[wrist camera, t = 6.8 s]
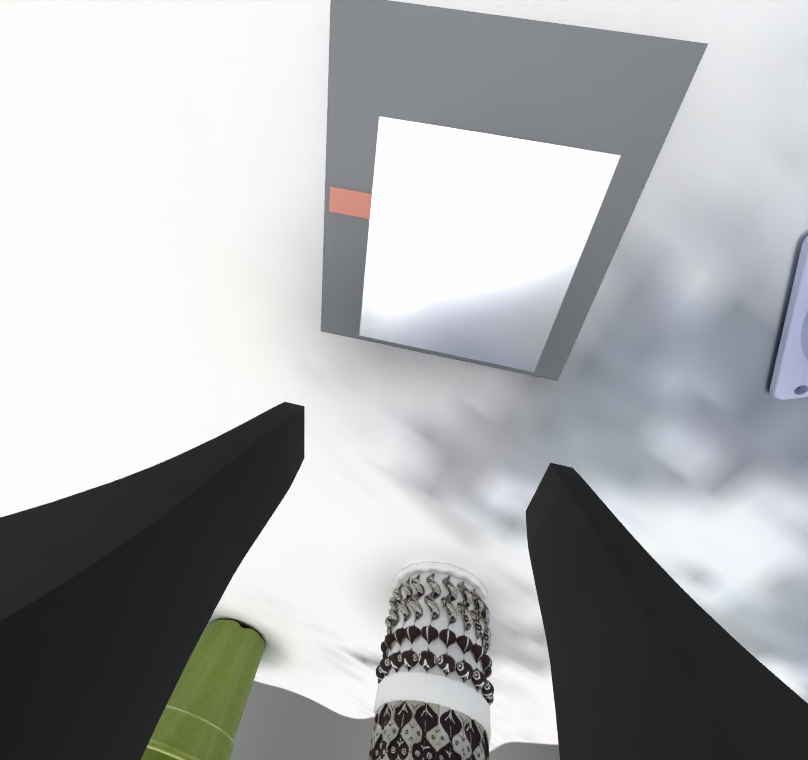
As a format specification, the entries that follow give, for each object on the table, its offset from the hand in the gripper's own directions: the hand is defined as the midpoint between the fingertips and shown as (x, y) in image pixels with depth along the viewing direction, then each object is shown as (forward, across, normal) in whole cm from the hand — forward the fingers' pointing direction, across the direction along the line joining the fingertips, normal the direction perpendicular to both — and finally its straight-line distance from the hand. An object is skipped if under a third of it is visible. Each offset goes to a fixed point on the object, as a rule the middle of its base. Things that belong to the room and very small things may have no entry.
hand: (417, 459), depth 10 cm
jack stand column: (+5, 0, -6) cm, 8 cm away
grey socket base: (+10, 0, -6) cm, 12 cm away
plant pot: (+10, +17, +44) cm, 48 cm away
